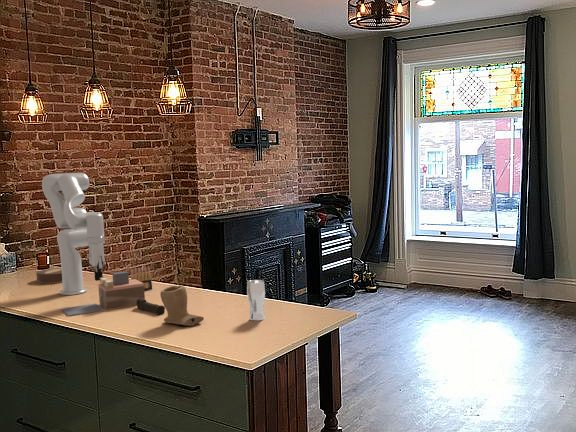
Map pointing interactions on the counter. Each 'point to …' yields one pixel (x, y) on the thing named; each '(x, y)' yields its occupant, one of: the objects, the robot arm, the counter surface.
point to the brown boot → (178, 306)
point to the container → (49, 276)
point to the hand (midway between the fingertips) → (98, 279)
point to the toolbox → (120, 297)
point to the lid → (121, 282)
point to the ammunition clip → (143, 277)
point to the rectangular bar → (106, 282)
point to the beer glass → (256, 299)
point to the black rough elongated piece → (150, 307)
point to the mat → (82, 309)
